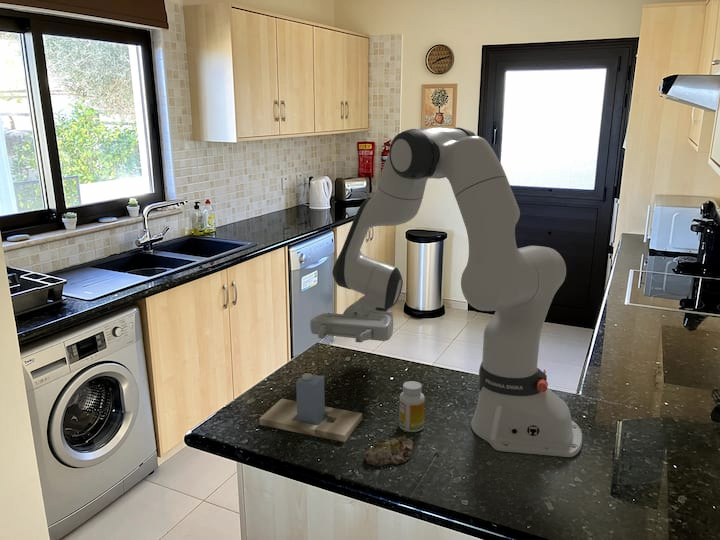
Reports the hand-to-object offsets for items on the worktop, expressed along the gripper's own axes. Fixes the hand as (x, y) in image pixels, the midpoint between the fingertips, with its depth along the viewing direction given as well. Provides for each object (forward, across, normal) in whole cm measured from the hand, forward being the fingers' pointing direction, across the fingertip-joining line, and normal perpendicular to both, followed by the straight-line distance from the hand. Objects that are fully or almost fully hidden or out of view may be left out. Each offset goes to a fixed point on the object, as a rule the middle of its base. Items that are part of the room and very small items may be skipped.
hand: (339, 337), depth 135 cm
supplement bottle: (+7, +19, +16) cm, 26 cm away
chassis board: (+13, -2, +15) cm, 20 cm away
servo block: (+13, -2, +15) cm, 20 cm away
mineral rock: (+19, +18, +17) cm, 31 cm away
